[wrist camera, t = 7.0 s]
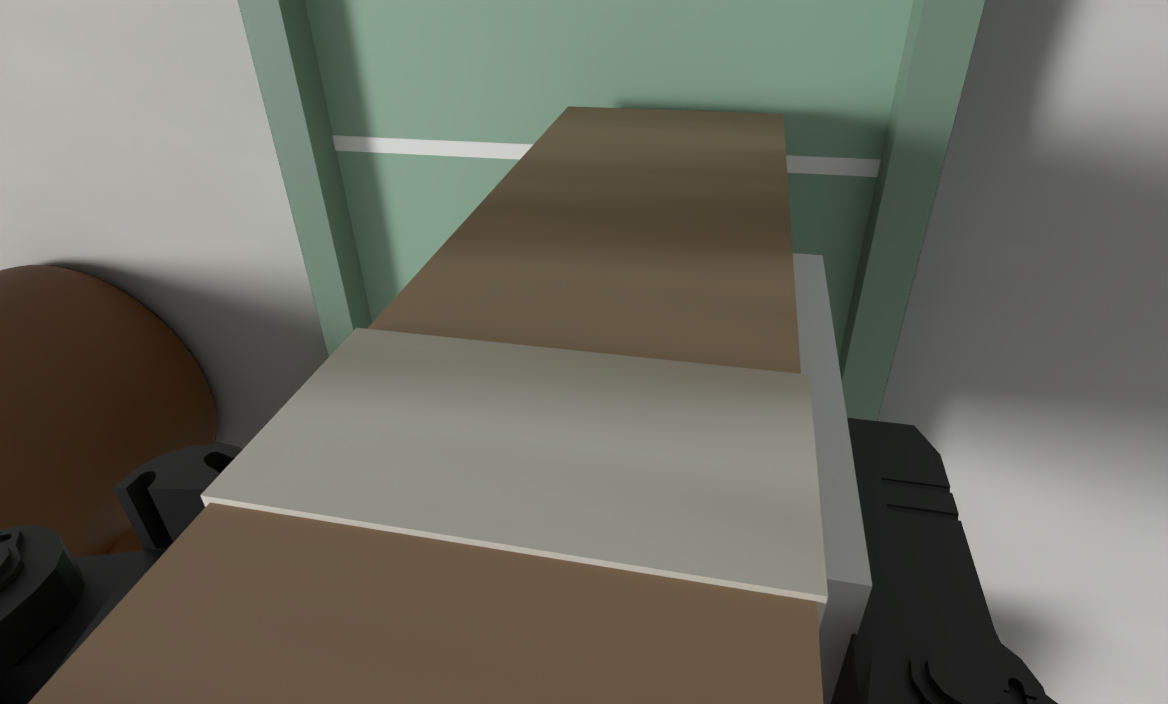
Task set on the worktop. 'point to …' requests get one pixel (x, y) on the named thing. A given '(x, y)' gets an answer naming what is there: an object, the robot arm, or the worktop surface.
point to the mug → (87, 403)
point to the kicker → (526, 463)
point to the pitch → (610, 80)
